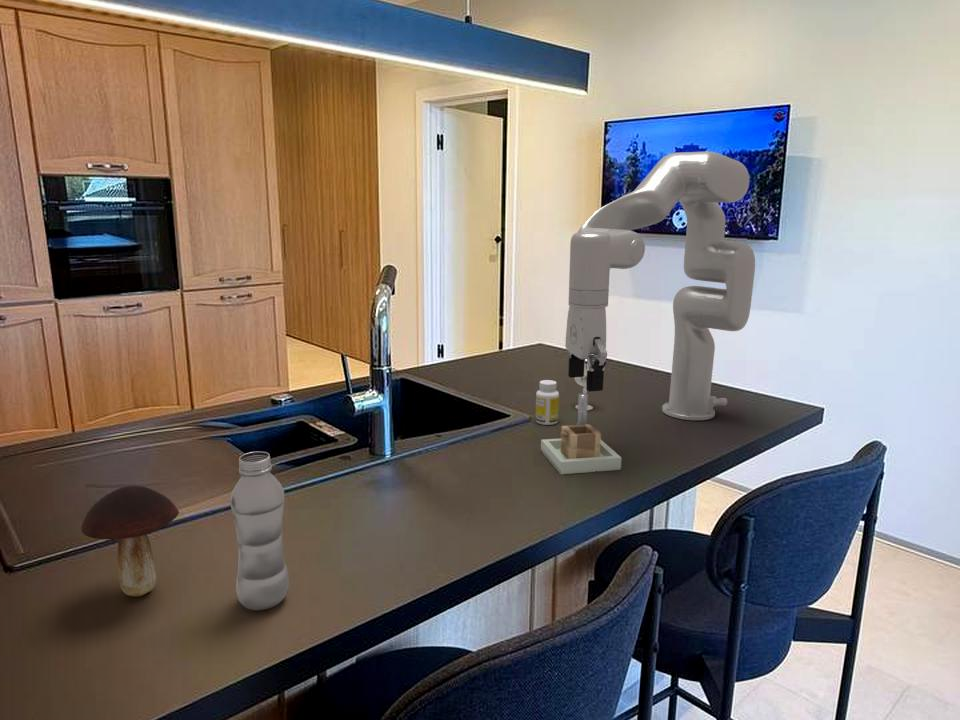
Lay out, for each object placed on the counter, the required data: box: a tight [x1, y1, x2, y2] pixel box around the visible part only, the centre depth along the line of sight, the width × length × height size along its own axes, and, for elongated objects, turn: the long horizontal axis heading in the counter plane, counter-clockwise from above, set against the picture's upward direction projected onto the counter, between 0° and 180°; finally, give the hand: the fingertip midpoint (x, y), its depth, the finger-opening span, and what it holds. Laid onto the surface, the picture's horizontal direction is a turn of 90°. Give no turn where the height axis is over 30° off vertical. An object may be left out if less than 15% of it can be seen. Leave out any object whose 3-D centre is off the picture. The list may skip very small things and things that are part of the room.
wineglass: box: [574, 359, 595, 411], centre depth 168 cm, size 6×6×12 cm
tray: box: [540, 437, 622, 475], centre depth 135 cm, size 12×12×2 cm
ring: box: [560, 423, 602, 459], centre depth 134 cm, size 6×8×6 cm
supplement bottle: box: [535, 379, 560, 426], centre depth 157 cm, size 5×5×10 cm
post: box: [576, 392, 589, 425], centre depth 146 cm, size 2×2×10 cm
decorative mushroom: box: [80, 485, 180, 598], centre depth 86 cm, size 11×11×15 cm
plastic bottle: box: [229, 450, 290, 611], centre depth 84 cm, size 6×7×20 cm
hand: (585, 383), depth 131 cm, fingers open, 9 cm apart
